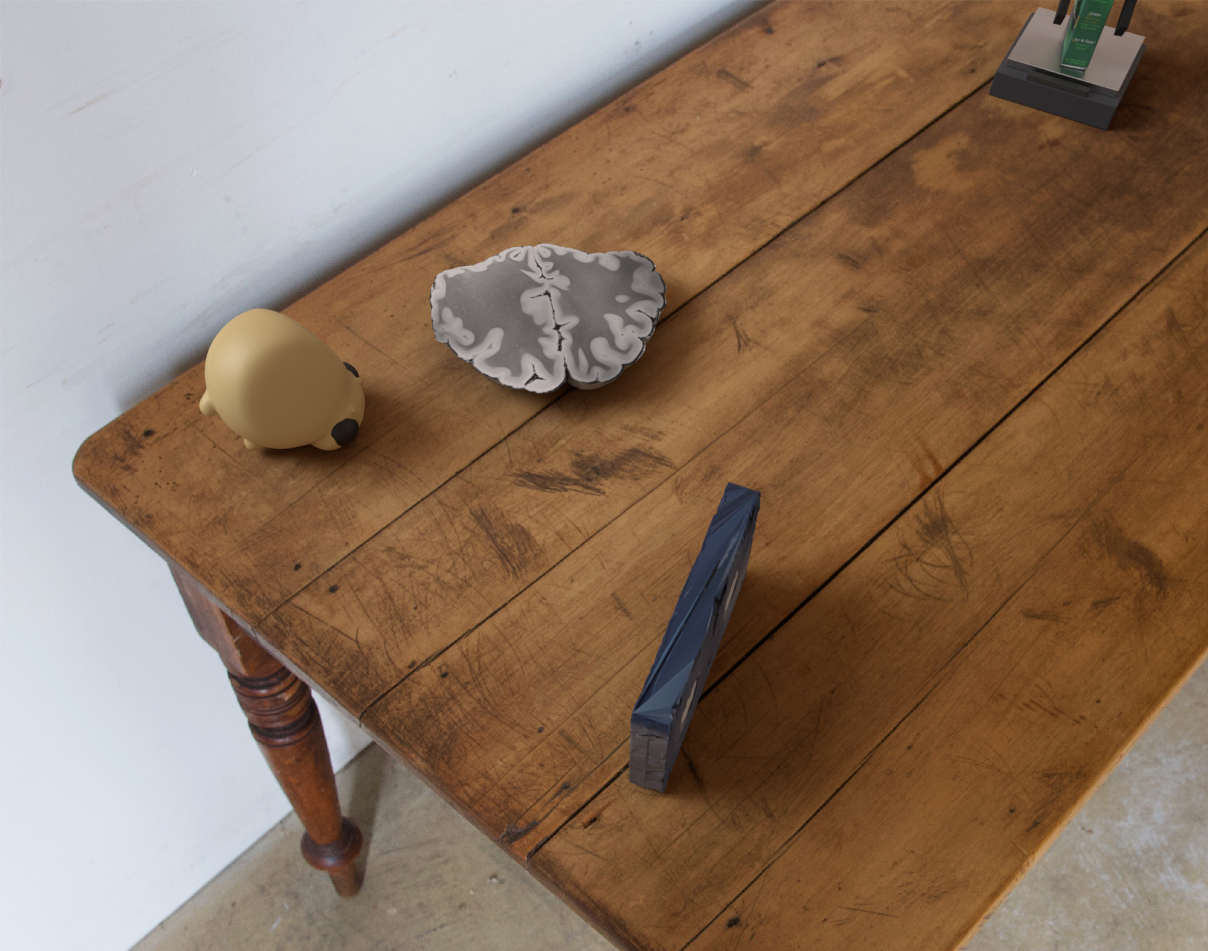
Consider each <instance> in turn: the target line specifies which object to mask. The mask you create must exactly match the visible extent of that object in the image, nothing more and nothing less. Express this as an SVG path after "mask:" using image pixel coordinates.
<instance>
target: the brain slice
mask: <svg viewBox="0 0 1208 951" xmlns="http://www.w3.org/2000/svg"><path fill="white" fill-rule="evenodd" d="M667 290H668V289H667V284H666V283H665V281H664V278H663V276H662V274H661V273H660V272H658V271H657V266H656V264H655V262H654V261H653V260H652V259H651V258H649V257H648V256H646V255H645V254H642V253H640V252H637V251H633V250H611V251H607V252H587V251H584V250H580V249H576V248H573V247H566V246H561V245H558V244H553V243H546V242H544V243H538V244H536V245H535V246H532V245H529V244H528V245H524V246H523V245H520V246H514V247H513V246H512V247H508V248H505V249H504V250H502V251H500V252H499V253H496V254H494V255H492V256H489V257H488V258H486V259H485V260H483V261H481V262H477V263H475V264H471V265H462V266H458V267H454V268H451V269H445V270H443V271H441V272H439V273H438V274H436V276H435V277H434V279H433V283H432V285H431V287H430V291H429V298H428V300H429V306H430V316H431V326H432V327H431V328H432V330H433V332H434V334H433V335H434V339H435V340H436V342H438V343H440V344H443V345H446V347H448V348H449V350H450V351H451V353H453V354H454V355H455V356H456V357H457V358H458V359H459V360H461V361H462V362H464V363H466V364H468V365H470V366H472V367H473V369H474V370H476V372H477V373H478V374H480V375H481V376H483V377H484V378H485V379H487V380H490V381H492V382H493V383H495V384H497V385H500V386H502V387H505V388H508V389H511V390H515V391H527V392H529V393H534V394H545V395H546V394H551V393H554V392H556V391H558V390H559V389H560V388H561V387H562V386H564V385H565V384H566V381H567V383H568V384H570V385H571V387H573V388H577V389H580V390H584V391H589V390H590V391H593V390H596V389H599V388H601V387H604V386H606V385H609V384H610V383H612V382H614V381H615V380H617V379H618V378H620V377H621V376H622V375H623V373H624V371H625V370H626V369H627V368H629V367H631V366H632V365H634V364H635V363H636V362H638V361H639V360H640V358H641V357H642V356H643V354H644V352H645V351H646V345H647V344H648V343H649V342H650V341H651V339H652V336H653V334H654V333H655V329H656V326H657V323H658V321H659V319H660V316H661V314H663V312H664V310H665V309H666V307H667V306H666V305H667V299H666V298H667V297H666V294H667Z"/></svg>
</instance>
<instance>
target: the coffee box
mask: <svg viewBox="0 0 1208 951" xmlns="http://www.w3.org/2000/svg"><path fill="white" fill-rule="evenodd" d="M1114 2H1115V0H1075V1H1074V3H1073V7H1072V10H1071V12H1070V17H1069V20H1068V23H1067V29H1066V33H1065V39H1064V45H1063V51H1062V58H1061V63H1060V64H1061V65H1062V66H1066V67H1071V68H1077V69H1087V68H1088V66H1089V64H1090V61H1091V58H1092V56H1093V53H1094V51H1095V48H1096V46H1097V43H1098V41H1099V38H1100V36H1101V33H1102V31H1103V28H1104V26H1106V23H1107V20H1108V18H1109V16H1110V12H1111V10H1112V9H1113V8H1112V7H1113V5H1114Z"/></svg>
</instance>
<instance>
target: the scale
mask: <svg viewBox="0 0 1208 951" xmlns="http://www.w3.org/2000/svg"><path fill="white" fill-rule="evenodd" d="M1056 12H1057V11H1055V10H1052V9H1048V8H1045V7H1041V6H1038V7H1037V9H1036V11H1035V12H1033V11H1032V12H1031V13H1030V15H1029V16H1028V18H1027V20H1026V21H1025V23H1024V24H1023V26H1022V28H1021V29H1020V31H1019V33H1018V34H1017V36H1016V37H1015V40H1014V41H1013V43H1012V45H1011V46H1010V48H1009V50H1008V51H1007V53H1006V55H1005V56H1004V58H1003V59H1002V61H1001V62H1000V64H999V66H998V67H997V69H996V71H995V73H994V76H993V79H992V83H991V85H990V89H989V92H988V95H990V96H993V97H997V98H999V99H1003V100H1006V101H1009V102H1013V103H1016V104H1019V105H1021V106H1025V107H1029V108H1032V109H1035V110H1038V111H1042V112H1044V113H1048V114H1051V115H1055V116H1058V117H1061V118H1065V119H1068V120H1070V121H1075V122H1078V123H1081V124H1084V125H1086V126H1087V125H1088V126H1091V127H1094V128H1097V129H1101V130H1104V131H1107V130H1108V128H1109V126H1110V125H1111V122H1112V120H1113V119H1114V116H1115V115H1116V113H1117V111H1118V108H1119V106H1120V105H1121V102H1122V101H1123V98H1124V96H1125V94H1126V92H1127V90H1128V88H1129V86H1130V84H1131V81H1132V80H1133V77H1134V76H1135V74H1136V71H1137V70H1138V68H1139V65H1140V63H1141V61H1142V59H1143V56H1144V54H1145V52H1146V49H1147V47H1148V44H1145V43H1144V41H1145V39H1146V37H1145V36H1143V35H1140V34H1136V33H1132V32H1129V31H1126V32H1125V33H1124V34H1123V35H1122V37H1121V36H1115V35H1114V32H1115V29H1116V27H1111V26H1108V25H1105V26H1104V28H1103V31H1102V33H1101V36H1100V38H1099V41H1098V43H1097V46H1096V48H1095V51H1094V53H1093V56H1092V58H1091V61H1090V64H1089V66H1088V68H1087V69H1077V68H1071V67H1066V66H1062V65H1061V64H1060V63H1061V58H1062V51H1063V45H1064V39H1065V33H1066V29H1067V23H1068V20H1069V17H1070V15H1069V14H1066V17H1065V18H1064V20H1063V22H1062V24H1061V25H1057V24H1053V21H1054V18H1055V15H1056Z"/></svg>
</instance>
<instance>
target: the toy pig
mask: <svg viewBox="0 0 1208 951" xmlns="http://www.w3.org/2000/svg"><path fill="white" fill-rule="evenodd" d="M204 381H205V385H206V386H205V387H206V388H205V392H204V394H203V395H202V396H201V398H200V400H199V410H200V413H201V414H203V415H204V416H206V417H209V418H210V417H214V416H218V417H219V418H220V419H221V420H222V422H223V423H224V424H225V425H226V426H227V427H228V428H229V429H230V430H231V431H233V432H234V433H235V434H237V435H238V436H239V437H241V438H242V439H243V443H244V446H245V447H246V449H247V450H249V451H252V452H257V451H260V450H262V449H263V448H268V449H276V450H285V449H286V450H287V449H294V448H298V447H302V446H308V445H311V446H313V447H315V448H316V449H319V450H322V451H334V450H337V449H339V448H342V447H348V446H350V445H353V443H354V442H355V441H356V440H357V439H358V437H359V434H360V426H361V425H362V422H363V419H364V415H365V410H366V409H365V408H366V398H365V393H364V390H363V387H362V386H363V383H364V381H363V379H362V378H361V377H360V374H359V372H358V370H357V368H356V367H355V366H353V365H352V364H351V363H349V362H346V361H342V359H341V358H340V357H339V355H338V354H336V352H335V351H334V350H333V349H332V348H331V347H329V345H327V344H326V343H325V342H324V341H323V340H322V339H321V338H319V337H318V336H317V335H316V334H314V332H312V331H311V330H310V329H308V328H307V327H306V326H304V325H302V324H301V323H299V322H298V321H296V320H295V319H293V318H292V317H289V316H288V315H285V314H283V313H281V312H278V311H275V310H272V309H268V308H261V307H259V308H252V309H249V310H246V311H244V312H242V313H239V315H236V316H235V317H234V318H232V319H230V320H229V321H228V322H227V323H226V324H225V325H224V326H223V327H222V328H221V329H220V331H218V333H217V334H216V335H215V337H214V339H213V340H212V342H211V344H210V346H209V348H208V351H207V354H206V358H205V363H204Z"/></svg>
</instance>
